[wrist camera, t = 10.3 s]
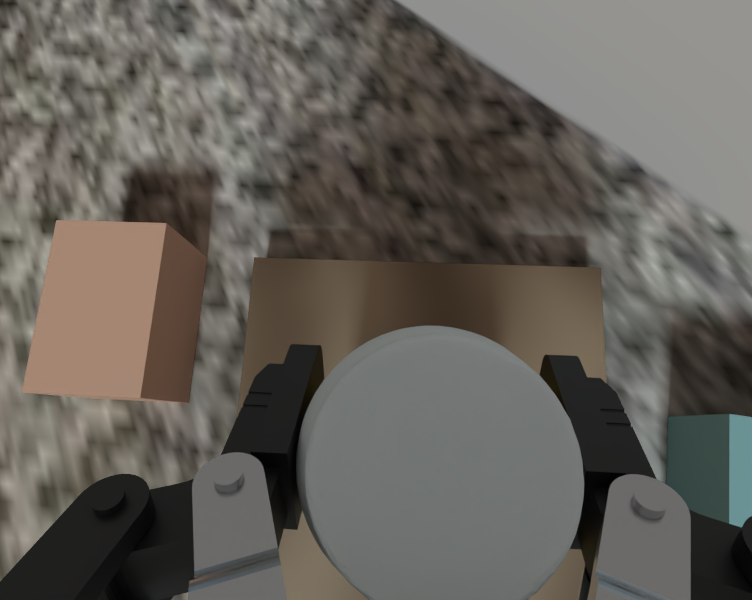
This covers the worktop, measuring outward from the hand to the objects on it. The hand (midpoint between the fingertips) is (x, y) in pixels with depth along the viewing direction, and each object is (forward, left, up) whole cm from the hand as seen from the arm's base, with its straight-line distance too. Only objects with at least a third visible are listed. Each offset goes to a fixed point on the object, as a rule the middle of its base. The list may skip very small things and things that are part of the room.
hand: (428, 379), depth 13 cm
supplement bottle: (0, -2, -4) cm, 5 cm away
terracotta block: (-11, +2, -7) cm, 14 cm away
